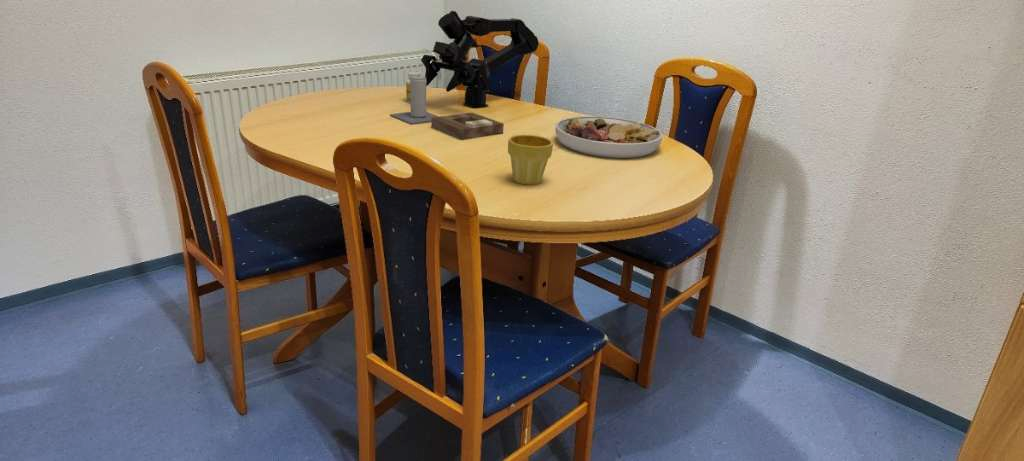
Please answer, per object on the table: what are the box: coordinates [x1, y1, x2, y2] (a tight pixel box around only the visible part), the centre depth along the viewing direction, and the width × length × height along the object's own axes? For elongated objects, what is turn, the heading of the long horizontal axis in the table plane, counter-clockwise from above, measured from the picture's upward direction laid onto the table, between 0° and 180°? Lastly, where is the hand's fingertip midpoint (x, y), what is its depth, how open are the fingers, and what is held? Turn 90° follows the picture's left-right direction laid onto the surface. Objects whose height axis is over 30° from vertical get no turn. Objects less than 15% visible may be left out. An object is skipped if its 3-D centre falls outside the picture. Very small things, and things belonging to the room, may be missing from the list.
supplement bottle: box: [405, 71, 421, 104], centre depth 224 cm, size 5×5×10 cm
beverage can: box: [410, 75, 427, 118], centre depth 204 cm, size 5×5×12 cm
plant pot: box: [507, 133, 554, 186], centre depth 156 cm, size 10×10×10 cm
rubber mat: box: [389, 111, 440, 126], centre depth 206 cm, size 12×12×1 cm
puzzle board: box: [430, 112, 505, 141], centre depth 196 cm, size 15×15×4 cm
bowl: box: [554, 116, 664, 159], centre depth 190 cm, size 30×30×8 cm
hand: (435, 88), depth 210 cm, fingers open, 9 cm apart
